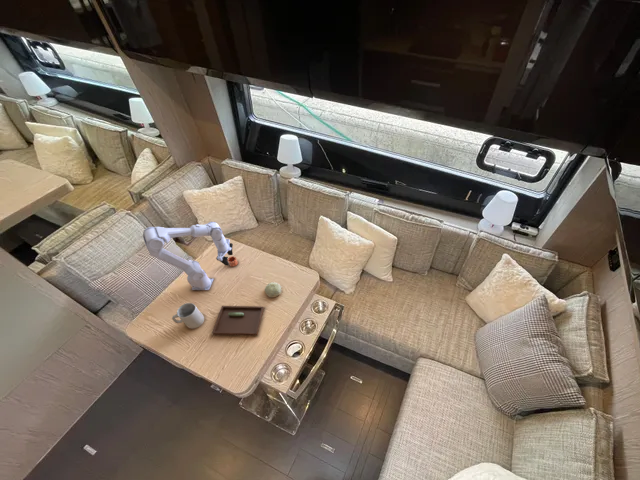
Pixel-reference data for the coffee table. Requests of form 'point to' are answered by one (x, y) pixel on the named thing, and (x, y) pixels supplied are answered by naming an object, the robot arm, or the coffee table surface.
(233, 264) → the cup
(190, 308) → the mug
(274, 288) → the sea urchin shell
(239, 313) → the muddler
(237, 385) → the coffee table surface
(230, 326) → the tray
